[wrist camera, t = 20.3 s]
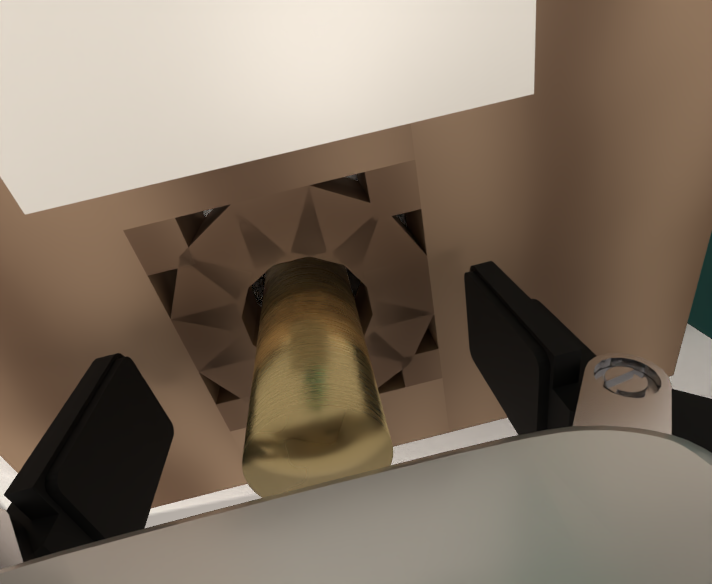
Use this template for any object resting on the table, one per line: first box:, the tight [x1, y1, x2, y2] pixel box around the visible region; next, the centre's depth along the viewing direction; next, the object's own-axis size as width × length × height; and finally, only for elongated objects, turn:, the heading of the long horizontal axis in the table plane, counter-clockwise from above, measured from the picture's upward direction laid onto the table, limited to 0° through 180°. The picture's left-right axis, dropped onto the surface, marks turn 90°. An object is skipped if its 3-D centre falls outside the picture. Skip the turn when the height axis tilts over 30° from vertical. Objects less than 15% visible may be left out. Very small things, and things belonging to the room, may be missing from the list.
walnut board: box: [0, 0, 712, 508], centre depth 12 cm, size 25×20×2 cm
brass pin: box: [242, 256, 393, 498], centre depth 12 cm, size 3×3×8 cm
